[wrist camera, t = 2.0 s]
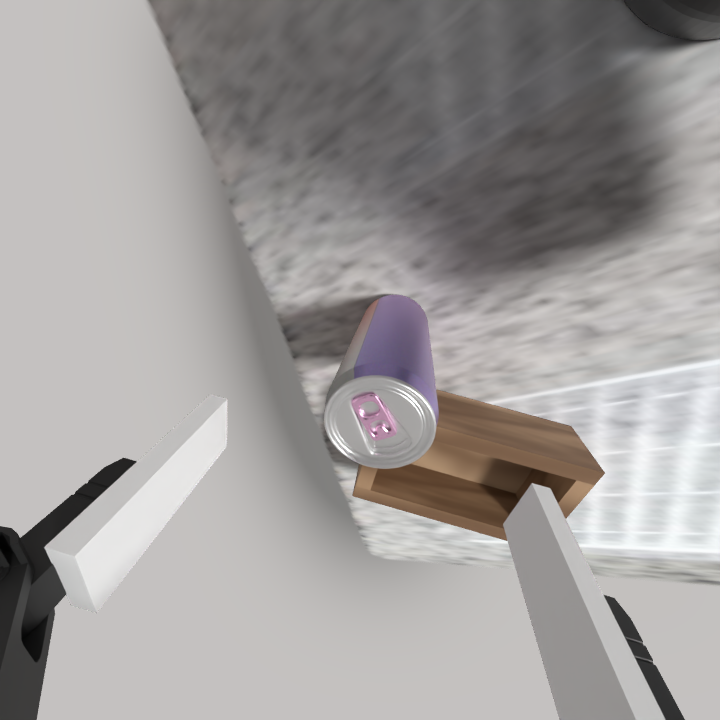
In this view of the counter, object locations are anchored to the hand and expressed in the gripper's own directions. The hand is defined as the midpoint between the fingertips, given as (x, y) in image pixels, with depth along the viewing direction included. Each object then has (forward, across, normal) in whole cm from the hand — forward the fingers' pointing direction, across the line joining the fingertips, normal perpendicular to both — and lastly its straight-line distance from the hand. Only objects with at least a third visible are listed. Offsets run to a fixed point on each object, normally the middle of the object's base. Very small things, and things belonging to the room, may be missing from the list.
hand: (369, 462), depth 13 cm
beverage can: (+17, 0, 0) cm, 17 cm away
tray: (+17, +10, -11) cm, 23 cm away
